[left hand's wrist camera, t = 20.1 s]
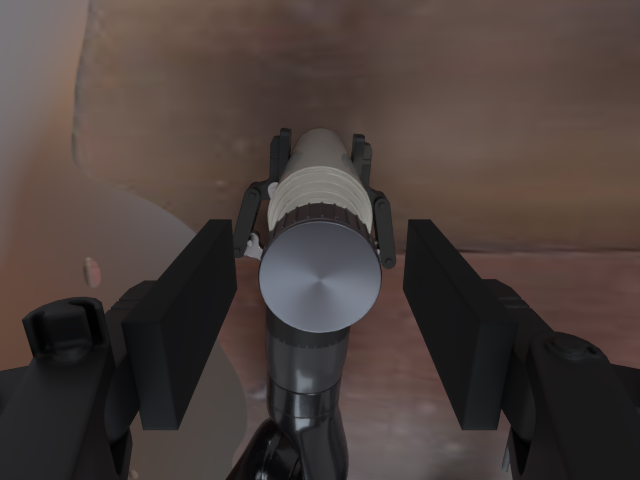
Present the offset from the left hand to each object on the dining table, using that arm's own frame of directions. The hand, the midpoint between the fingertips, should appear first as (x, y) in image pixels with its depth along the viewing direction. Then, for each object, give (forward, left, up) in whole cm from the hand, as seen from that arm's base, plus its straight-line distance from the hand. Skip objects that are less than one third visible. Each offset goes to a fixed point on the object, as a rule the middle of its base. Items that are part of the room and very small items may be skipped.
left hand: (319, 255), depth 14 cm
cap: (0, 0, +2) cm, 2 cm away
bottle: (0, 0, -24) cm, 24 cm away
